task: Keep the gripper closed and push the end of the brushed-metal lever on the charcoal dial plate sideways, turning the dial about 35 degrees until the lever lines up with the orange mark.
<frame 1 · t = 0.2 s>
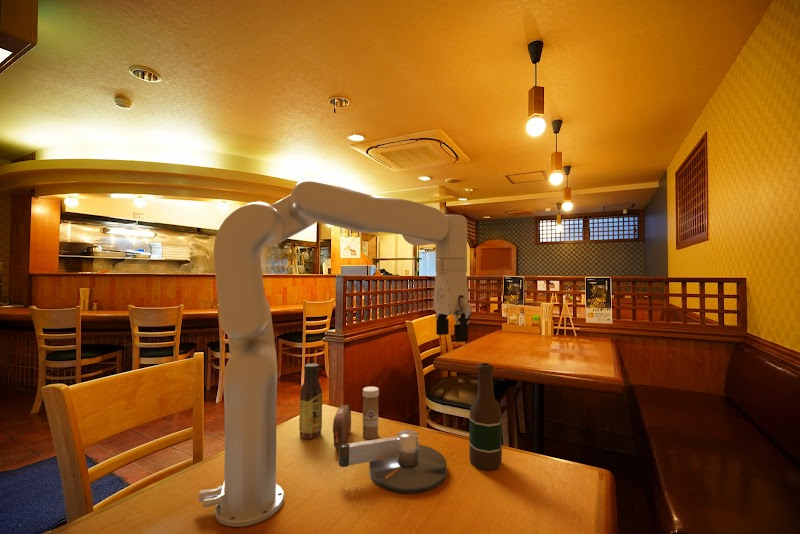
hand: (451, 337, 86), 31 cm above the table, tool pointing down, fingers open, 9 cm apart
tin: (342, 441, 99), on the table
beer bottle: (485, 464, 87), on the table
sprinkles bottle: (370, 436, 102), on the table
sauce bottle: (310, 435, 102), on the table
dial lever: (379, 451, 82), point 5 cm above the table, hinge at 0.0°
dial plate: (408, 470, 84), on the table
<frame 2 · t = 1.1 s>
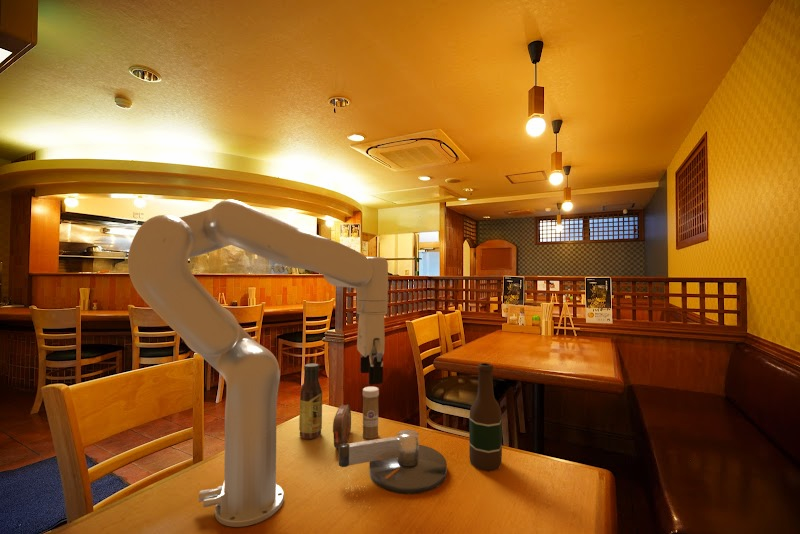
hand: (370, 377, 88), 21 cm above the table, tool pointing down, fingers open, 9 cm apart
nothing on the table moved.
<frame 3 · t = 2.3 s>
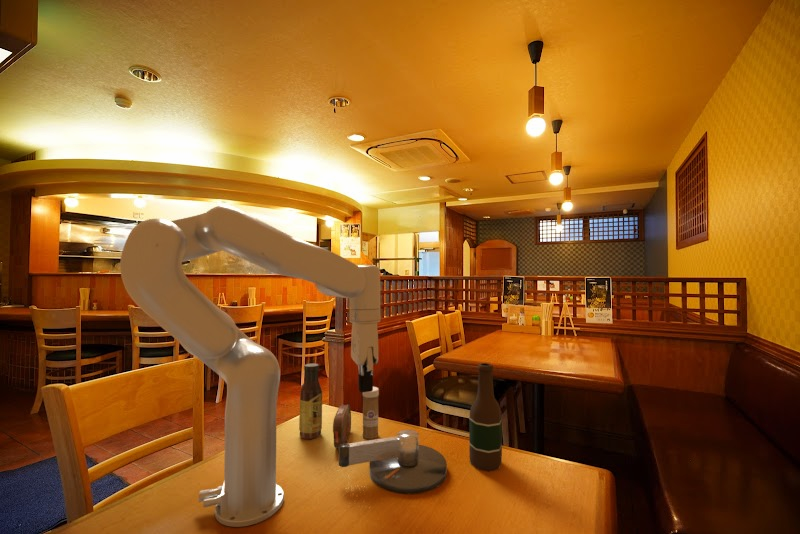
hand: (365, 390, 88), 17 cm above the table, tool pointing down, fingers closed
nothing on the table moved.
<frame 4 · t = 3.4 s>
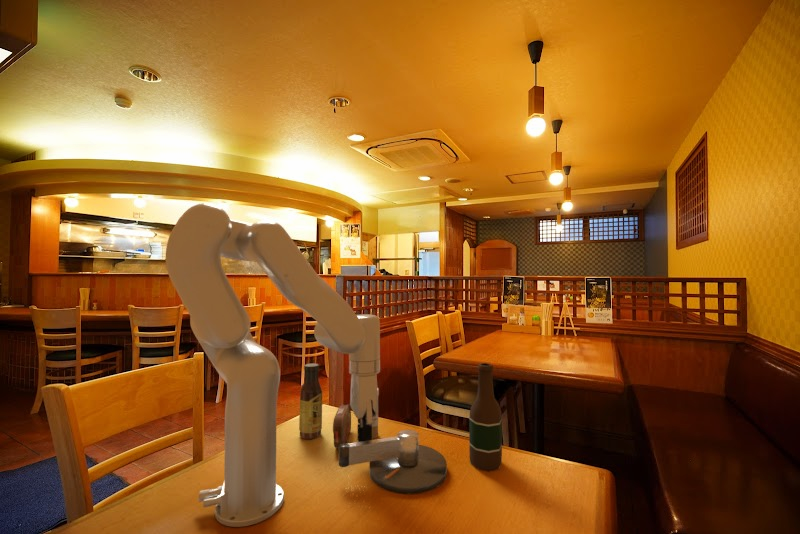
hand: (364, 441, 88), 5 cm above the table, tool pointing down, fingers closed
nothing on the table moved.
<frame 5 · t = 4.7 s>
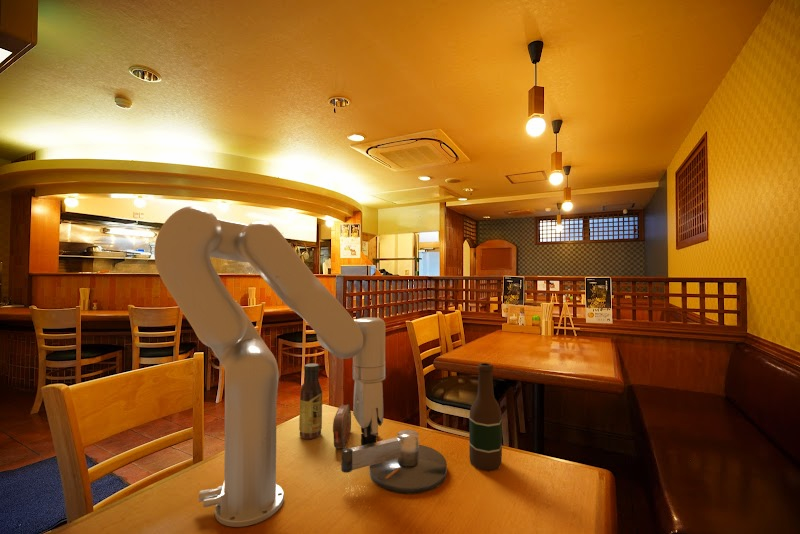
hand: (368, 451, 83), 5 cm above the table, tool pointing down, fingers closed
dial lever: (381, 454, 81), point 5 cm above the table, hinge at 9.0°, touching gripper
everything else where it was.
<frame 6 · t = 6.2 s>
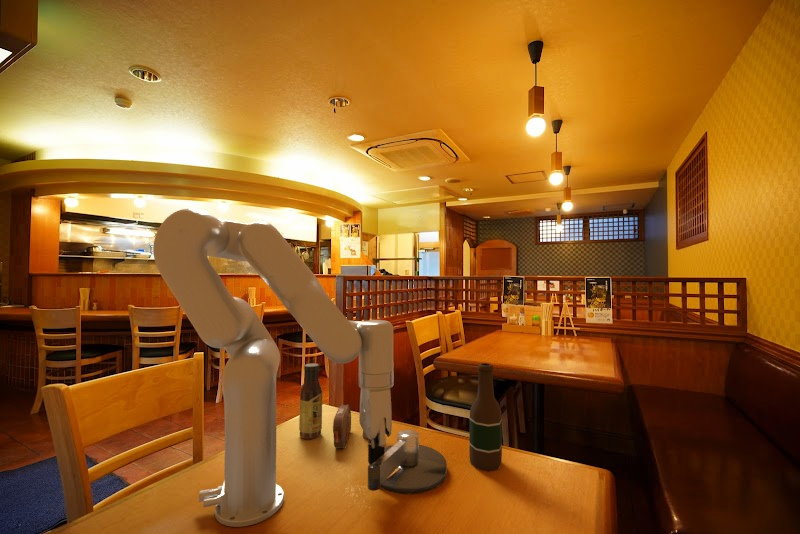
hand: (376, 463, 77), 5 cm above the table, tool pointing down, fingers closed
dial lever: (393, 460, 78), point 5 cm above the table, hinge at 43.3°, touching gripper
everything else where it was.
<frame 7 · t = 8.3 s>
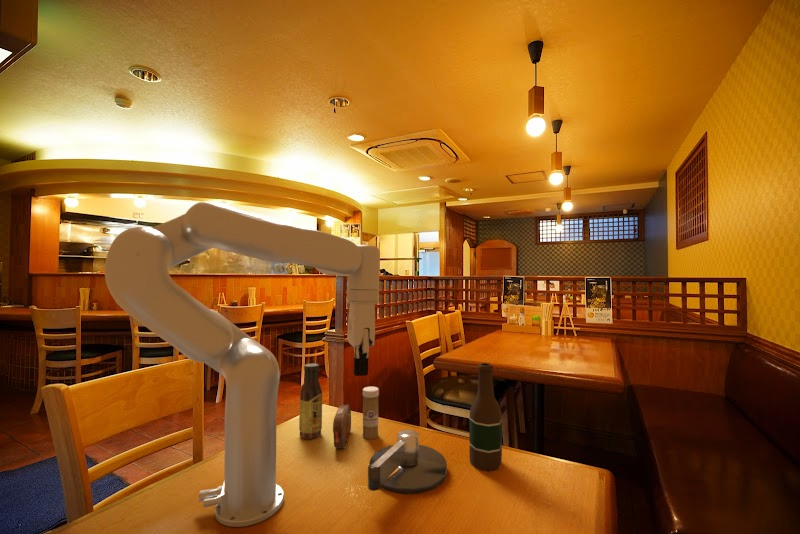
hand: (360, 374, 85), 22 cm above the table, tool pointing down, fingers closed
dial lever: (394, 460, 78), point 5 cm above the table, hinge at 43.5°
everything else where it was.
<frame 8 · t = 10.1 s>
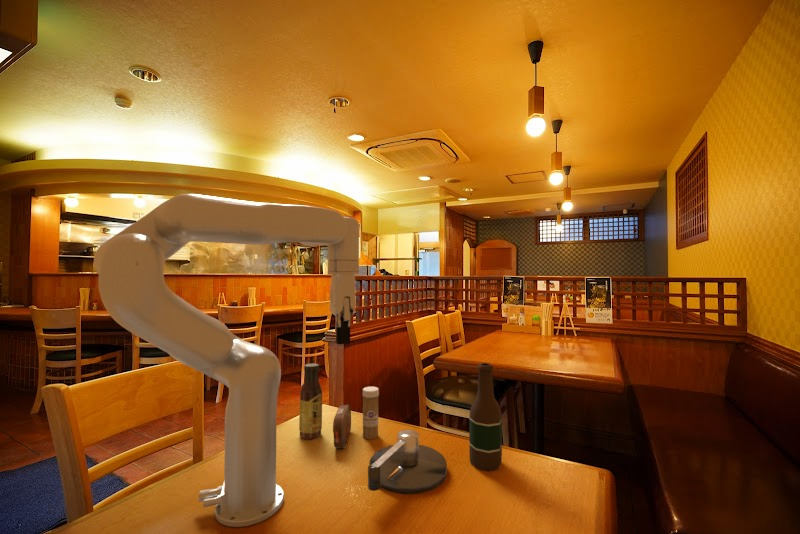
hand: (343, 343, 88), 29 cm above the table, tool pointing down, fingers closed
nothing on the table moved.
at the end: dial lever at +44° (first picture: +0°); beer bottle moved 0.2 cm from its start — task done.
